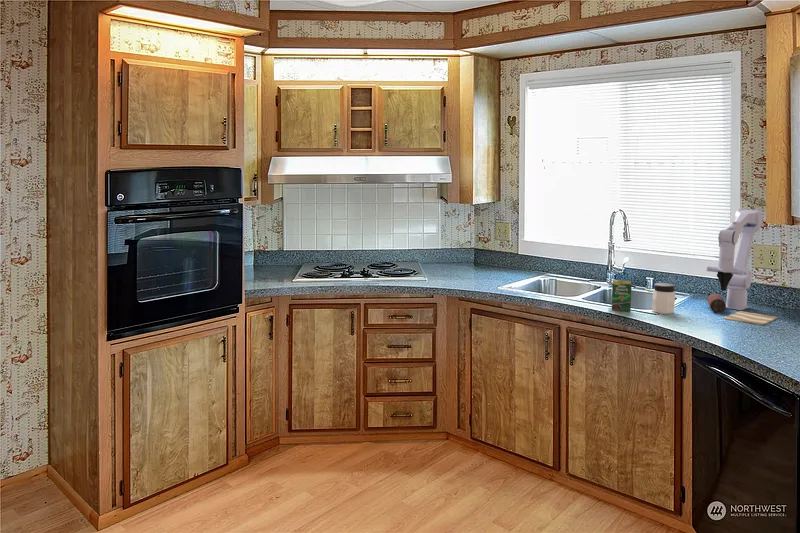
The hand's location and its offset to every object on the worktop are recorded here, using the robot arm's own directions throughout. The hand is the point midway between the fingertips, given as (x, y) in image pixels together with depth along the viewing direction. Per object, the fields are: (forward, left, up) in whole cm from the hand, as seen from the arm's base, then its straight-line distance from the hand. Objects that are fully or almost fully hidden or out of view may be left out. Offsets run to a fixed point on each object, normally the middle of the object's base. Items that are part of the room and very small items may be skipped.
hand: (723, 290), depth 282 cm
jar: (+15, -19, -11) cm, 26 cm away
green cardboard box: (+26, -32, -11) cm, 43 cm away
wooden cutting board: (-1, +11, -10) cm, 15 cm away
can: (0, -2, -7) cm, 8 cm away
